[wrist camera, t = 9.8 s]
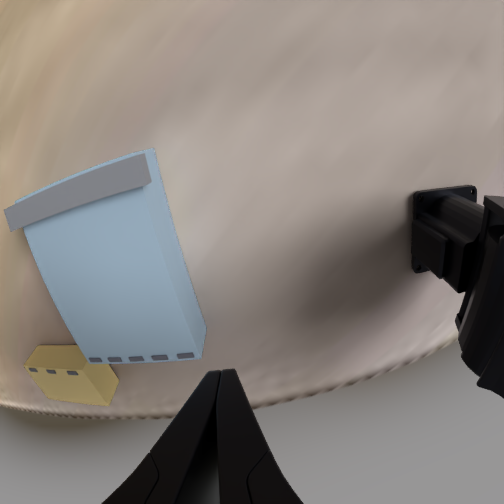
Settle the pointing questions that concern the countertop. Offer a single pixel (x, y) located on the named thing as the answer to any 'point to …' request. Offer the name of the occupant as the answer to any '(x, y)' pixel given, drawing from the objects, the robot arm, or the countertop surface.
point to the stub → (71, 375)
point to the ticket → (114, 262)
